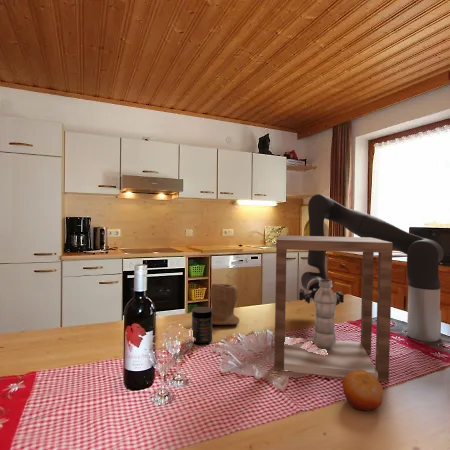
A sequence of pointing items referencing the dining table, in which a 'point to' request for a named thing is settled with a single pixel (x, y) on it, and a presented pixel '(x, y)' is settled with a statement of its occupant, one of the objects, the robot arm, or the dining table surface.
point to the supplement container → (202, 325)
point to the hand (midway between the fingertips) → (322, 301)
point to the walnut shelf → (356, 351)
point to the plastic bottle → (325, 315)
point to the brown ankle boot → (223, 304)
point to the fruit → (362, 390)
